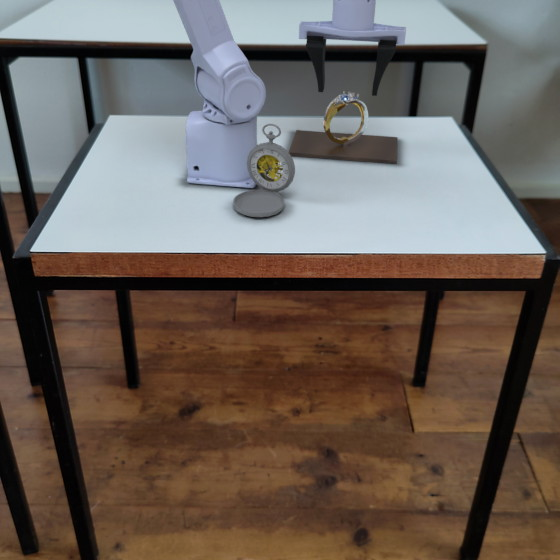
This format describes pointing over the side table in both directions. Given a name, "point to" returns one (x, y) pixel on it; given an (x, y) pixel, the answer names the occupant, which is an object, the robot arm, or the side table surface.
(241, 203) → the pocket watch
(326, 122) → the ring
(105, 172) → the side table surface
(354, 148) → the mat
